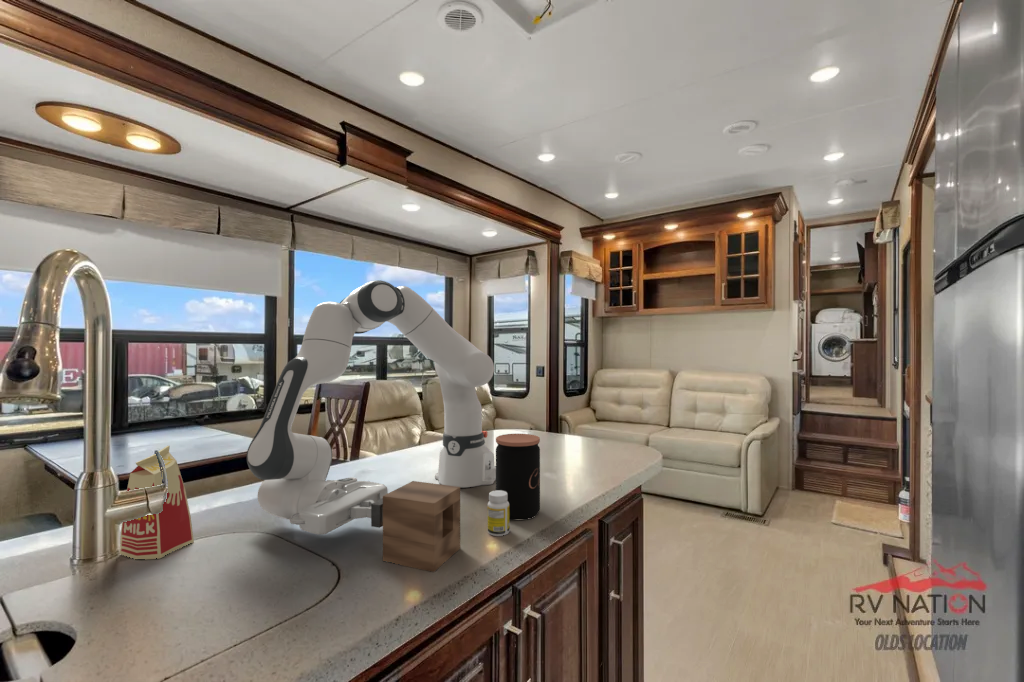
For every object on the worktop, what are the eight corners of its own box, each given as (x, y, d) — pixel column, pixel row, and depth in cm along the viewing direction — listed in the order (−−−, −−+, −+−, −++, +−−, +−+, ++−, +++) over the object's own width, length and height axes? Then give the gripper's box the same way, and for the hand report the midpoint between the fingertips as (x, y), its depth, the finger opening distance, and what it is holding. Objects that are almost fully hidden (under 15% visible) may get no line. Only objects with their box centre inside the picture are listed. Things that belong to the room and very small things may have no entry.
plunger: (385, 518, 94) (385, 496, 94) (436, 526, 90) (436, 504, 90) (371, 526, 90) (371, 503, 90) (423, 535, 86) (423, 511, 86)
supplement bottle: (499, 525, 102) (499, 488, 102) (514, 532, 99) (514, 493, 99) (482, 532, 99) (482, 493, 99) (497, 538, 95) (497, 498, 95)
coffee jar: (536, 523, 104) (536, 443, 104) (490, 519, 106) (490, 441, 106) (543, 506, 114) (542, 434, 114) (501, 503, 116) (501, 432, 116)
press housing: (413, 539, 95) (412, 480, 95) (460, 548, 91) (460, 486, 91) (382, 561, 86) (382, 496, 86) (434, 571, 82) (434, 503, 82)
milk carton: (159, 538, 96) (159, 442, 96) (196, 541, 94) (196, 444, 94) (113, 558, 87) (113, 452, 87) (153, 562, 85) (153, 455, 85)
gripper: (283, 504, 87) (341, 513, 82) (356, 475, 106) (407, 481, 101) (283, 537, 87) (341, 548, 82) (356, 502, 106) (407, 509, 101)
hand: (378, 511), depth 92 cm, fingers closed, pressing on plunger
